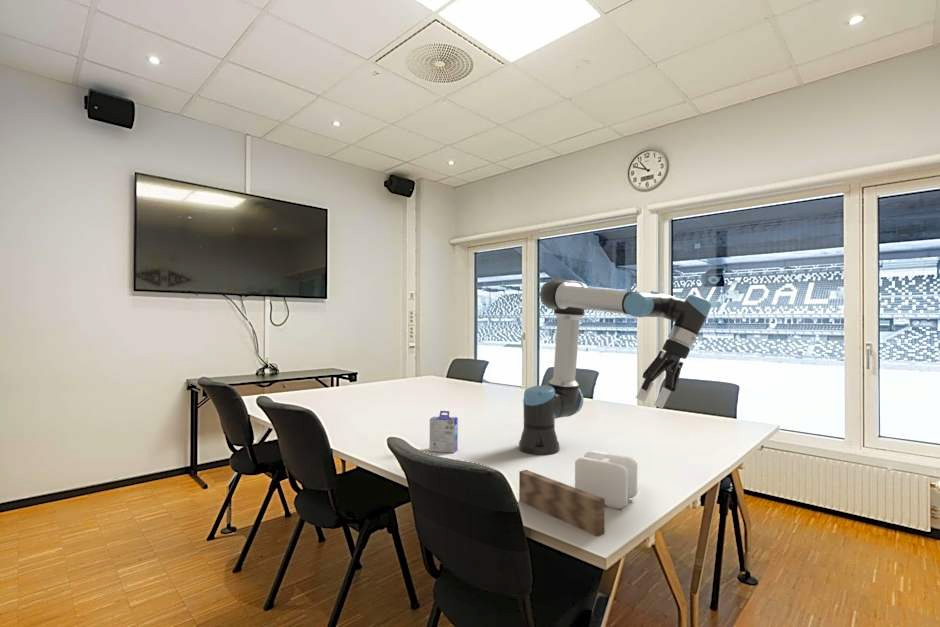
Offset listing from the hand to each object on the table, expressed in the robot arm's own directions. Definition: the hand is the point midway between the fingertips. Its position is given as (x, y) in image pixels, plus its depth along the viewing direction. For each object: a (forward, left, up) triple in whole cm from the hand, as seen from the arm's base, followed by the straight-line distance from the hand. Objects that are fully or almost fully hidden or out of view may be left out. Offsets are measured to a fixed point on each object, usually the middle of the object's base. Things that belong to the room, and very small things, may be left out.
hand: (649, 403), depth 150 cm
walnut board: (+4, -46, -23) cm, 51 cm away
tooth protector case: (+4, -27, -23) cm, 36 cm away
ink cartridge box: (-62, -36, -23) cm, 76 cm away
